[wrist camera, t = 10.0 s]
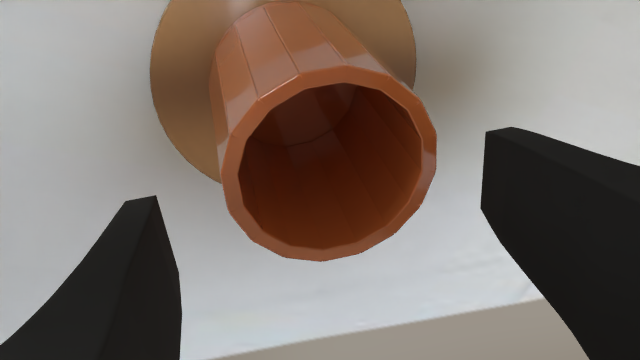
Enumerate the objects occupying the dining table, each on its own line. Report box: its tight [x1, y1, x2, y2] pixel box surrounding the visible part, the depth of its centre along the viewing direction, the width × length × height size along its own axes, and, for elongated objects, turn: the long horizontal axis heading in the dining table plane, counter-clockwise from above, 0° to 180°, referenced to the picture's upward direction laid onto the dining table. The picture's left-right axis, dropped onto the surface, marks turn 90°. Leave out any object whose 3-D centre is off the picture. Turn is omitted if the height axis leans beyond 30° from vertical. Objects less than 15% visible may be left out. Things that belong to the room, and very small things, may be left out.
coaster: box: [150, 0, 416, 184], centre depth 19 cm, size 9×9×1 cm
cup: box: [209, 0, 437, 262], centre depth 16 cm, size 5×5×6 cm
